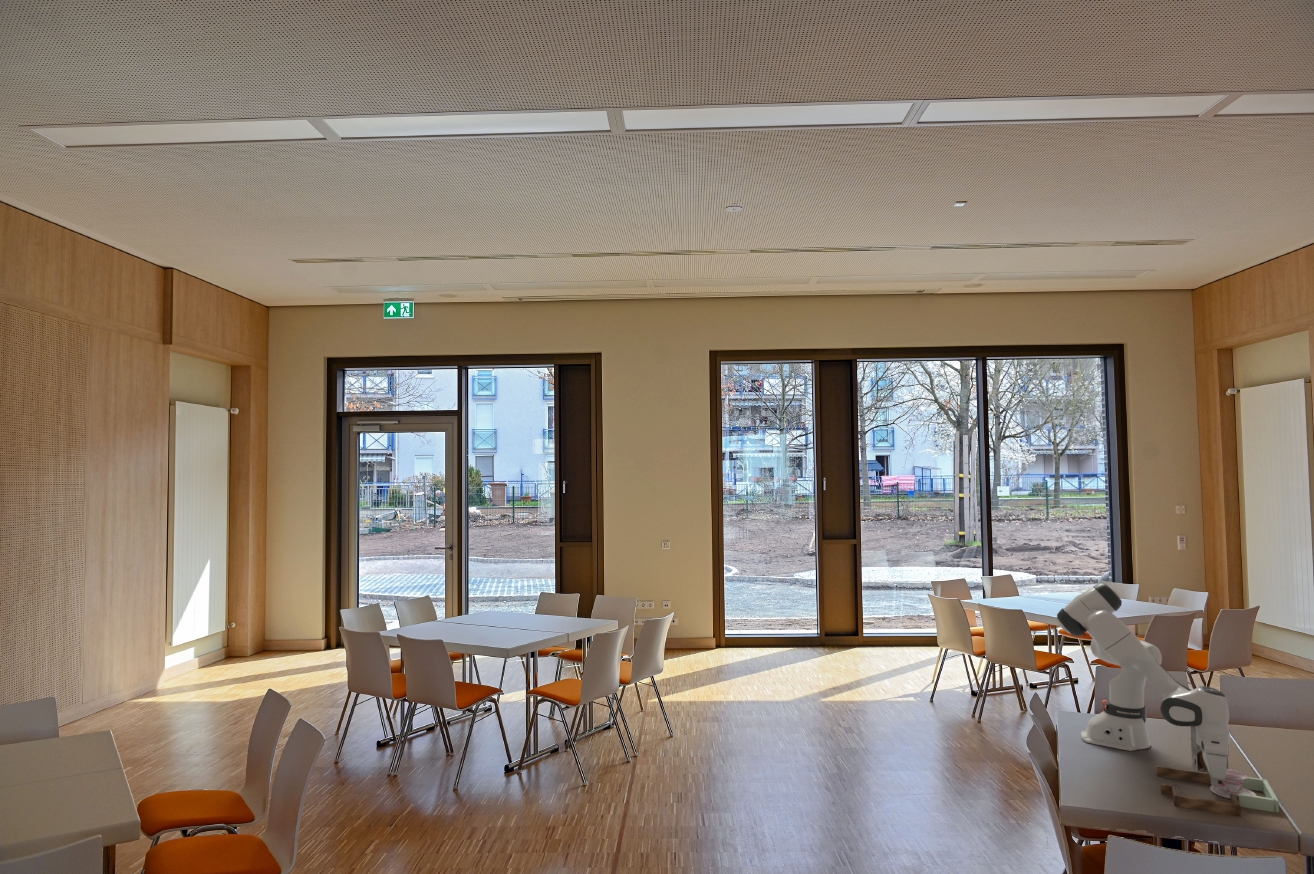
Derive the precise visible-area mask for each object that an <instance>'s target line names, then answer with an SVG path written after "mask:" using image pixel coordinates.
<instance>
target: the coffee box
mask: <svg viewBox="0 0 1314 874" xmlns="http://www.w3.org/2000/svg"><path fill="white" fill-rule="evenodd" d="M1190 746H1191V748H1190V749H1191V767H1192V768H1193V769H1194V771H1199V772H1206V773H1209V771H1208V769H1207V766H1206V764H1205V761H1204V759H1203V752H1202V750H1201V747H1200V746H1199V745H1198V744H1197V743H1196V726H1190ZM1226 769H1229V756H1227V768H1226Z"/></svg>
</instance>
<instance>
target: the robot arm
mask: <svg viewBox="0 0 1314 874" xmlns="http://www.w3.org/2000/svg"><path fill="white" fill-rule="evenodd" d="M1122 602H1123V601H1122V600H1121V596H1120V594H1119V593H1118V591H1117V590H1116V589H1115V588H1113V587H1112V586H1111V585H1108V584H1107V583H1104V582H1102V583H1101V582H1099V583H1097V584H1095V585H1093V586H1092V587H1091V588H1088V589H1087V590H1085V591H1084V592H1082V593H1081V594H1078V595H1077V596H1075V597H1074V598H1073V599H1072V600H1071V601H1070V602H1069V603H1068V604H1067V605H1066V606H1065V607H1063V608H1061V609H1060V610H1059V611H1058V613H1057V614H1056V618H1057V620H1058V624H1059V626H1060V628H1061V629H1062V630H1063V631H1064V632H1066V633H1068V634H1070V635H1071V636H1073V637H1082V636H1084V638H1085V637H1088V635H1089V636H1090V637H1091V642H1090V650H1091V653H1092V655H1093V656H1094V657H1095V658H1097V659H1099V660H1101V661H1103V662H1106V663H1108V664H1113V665H1116V666H1119V667H1120V668H1121V670H1120V674H1119V675H1117V676H1114V677H1112V678H1111V680H1110V681H1109V682H1108V684H1109V686H1108V687H1109V690H1108V691H1109V701H1108V700H1106V699H1103V700H1102V702H1101V704H1102V706H1103V711H1102V712H1100V713H1098V714H1096V715H1094V716H1092V717H1091V718H1090V719H1089V720H1088V723H1087V727H1086V729H1083V730H1082V731H1081V732H1080V738H1081V740H1082V741H1083V742H1085V743H1089V744H1093V745H1097V746H1098V745H1099V746H1103V747H1108V748H1114V749H1117V750H1124V751H1130V752H1132V751H1137V750H1145V749H1148V748H1150V747H1151V743H1150V739H1149V736H1148V731H1147V725H1146V722H1147V709H1146V706H1145V685H1146V682H1147V681H1149V683H1150V684H1151V685H1152V686H1153V687H1154V688H1155V689H1156V690H1158V692H1159V693H1160V694H1161V697H1162V702H1161V703H1160V708H1159V709H1160V713H1161V716H1162V717H1163V719H1164V720H1166V722H1168V723H1169V724H1171V725H1174V726H1175V727H1176V726H1177V727H1191V726H1196V743H1197V744H1198V745H1199V746H1200V747H1201V750H1202V752H1203V759H1204V761H1205V764H1206V766H1207V769H1208V771H1209V775H1210V782H1211V784H1210V786H1218V780H1221V781H1224V780H1225V778H1226V768H1227V756H1228V757H1229V755H1230V749H1231V740H1230V739H1231V737H1230V736H1231V735H1230V729H1229V721H1230V711H1229V702H1228V699H1227V696H1226V695H1225V694H1224V693H1223V692H1222V691H1220V690H1219V689H1216V688H1214V687H1211V686H1203V685H1201V686H1200V685H1199V686H1198V687H1196V688H1193V689H1190V687H1187V686H1186V685H1184V684H1181V683H1180V682H1179V681H1177V680H1176V679H1175V678H1174V677H1172V675H1171V674H1169V672H1168V671H1167V670H1166V669H1165V668H1164V667H1163V666H1162V660H1163V657H1162V656H1163V655H1162V652H1161V651H1160V649H1159V648H1158V647H1157V646H1156V645H1154V644H1153V643H1149V642H1147V641H1145V640H1141V639H1139V638H1138V637H1137V636H1136V634H1135V633H1134V632H1133V631H1132V630H1131V629H1130V628H1129V627H1128V626H1127V625H1126V624H1125V623H1124V622H1123V621H1122V620H1121V619H1120V618H1119V617H1118V616H1116V615H1115V614H1113V613H1115V612H1117V611H1118V610H1119V609H1120V608H1121V607H1122ZM1086 633H1087V634H1088V635H1087V634H1086Z"/></svg>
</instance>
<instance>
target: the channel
mask: <svg viewBox="0 0 1314 874" xmlns="http://www.w3.org/2000/svg"><path fill="white" fill-rule="evenodd" d="M1156 776H1158V777H1162V778H1169V779H1170V778H1171V779H1177V780H1184V781H1190V782H1197V783H1203V784H1209V785H1211V782H1210V775H1209V773H1206V772H1199V771H1196V770H1191V769H1186V768H1185V769H1183V768H1176V767H1171V766H1165V765H1156ZM1218 784H1222V781H1221V780H1218ZM1160 794H1161V795H1164V796H1169V797H1170V796H1171V797H1172V798H1171V799H1172V802H1173V805H1174V807H1177V808H1178V807H1180V808H1185V809H1190V810H1191V809H1192V810H1197V811H1202V812H1203V811H1204V812H1208V813H1209V812H1210V813H1216V814H1223V815H1227V816H1235V817H1241V816H1242V815H1241V810H1242V809H1241V807H1240V804H1239V795H1235V794H1230V802H1223V801H1217V800H1212V799H1205V798H1199V797H1192V796H1186V795H1179V792H1178V788H1177V785H1175V784H1168V783H1163V782H1162V783H1160Z"/></svg>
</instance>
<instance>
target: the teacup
mask: <svg viewBox="0 0 1314 874" xmlns="http://www.w3.org/2000/svg"><path fill="white" fill-rule="evenodd" d="M1247 777H1248V775H1246V774H1245V773H1243V772H1241V771H1238V770H1235V769H1231V768H1228V769H1226V778H1225V780H1224V781H1222V784H1218V786H1212V785H1210V786H1209V789H1210V791H1211V793H1214V794H1215V795H1217V796H1220V797H1223V798H1225V799H1230V794H1235V795H1238V793H1239V794H1246V795H1252V796H1258V795H1257V794H1256V793H1255V792H1254V791H1253V790H1249V789H1245V788H1243V787H1242V786H1243V784H1244V783H1245V782H1244V781H1245V780H1246V779H1247Z"/></svg>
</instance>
